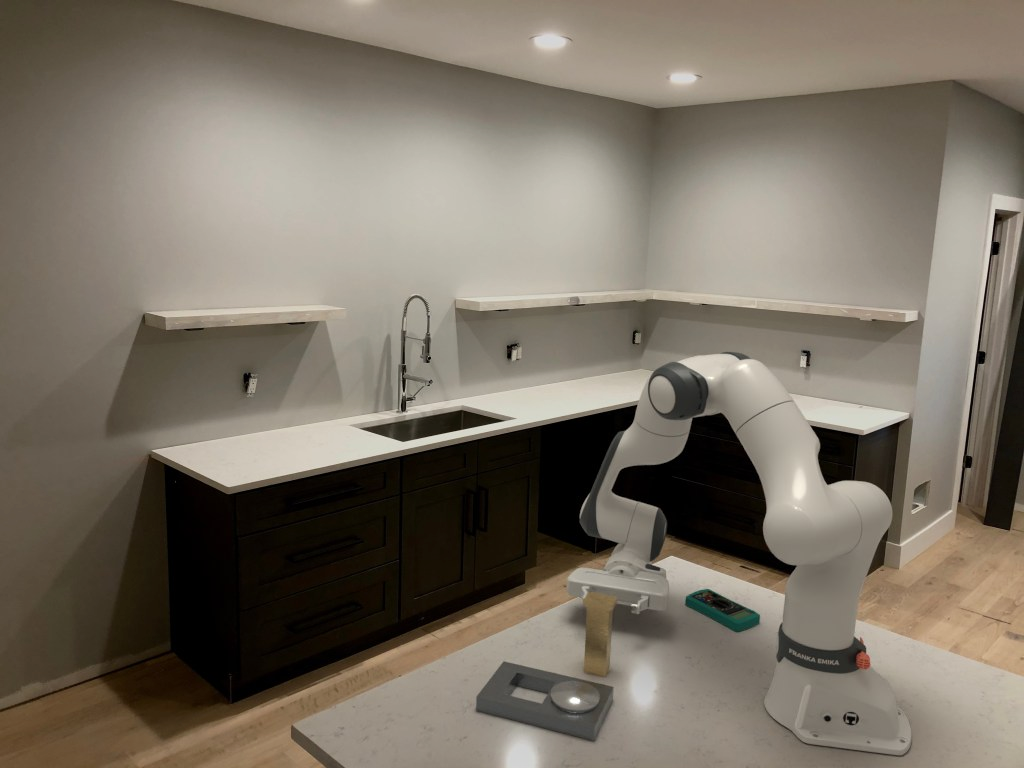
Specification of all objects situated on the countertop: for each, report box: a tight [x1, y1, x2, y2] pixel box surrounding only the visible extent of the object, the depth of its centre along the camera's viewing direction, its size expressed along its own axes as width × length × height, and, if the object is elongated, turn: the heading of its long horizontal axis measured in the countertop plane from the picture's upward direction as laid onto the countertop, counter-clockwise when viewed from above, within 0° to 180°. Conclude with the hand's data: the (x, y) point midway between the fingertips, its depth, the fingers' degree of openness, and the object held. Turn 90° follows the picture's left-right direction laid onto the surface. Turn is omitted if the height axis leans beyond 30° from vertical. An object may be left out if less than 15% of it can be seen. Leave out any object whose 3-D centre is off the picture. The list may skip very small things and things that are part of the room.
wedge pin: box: [582, 592, 617, 678], centre depth 143 cm, size 5×4×14 cm
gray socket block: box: [475, 660, 615, 742], centre depth 133 cm, size 20×12×3 cm, turn 69°
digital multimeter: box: [684, 588, 761, 633], centre depth 167 cm, size 7×15×3 cm, turn 35°
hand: (610, 605), depth 152 cm, fingers open, 8 cm apart
